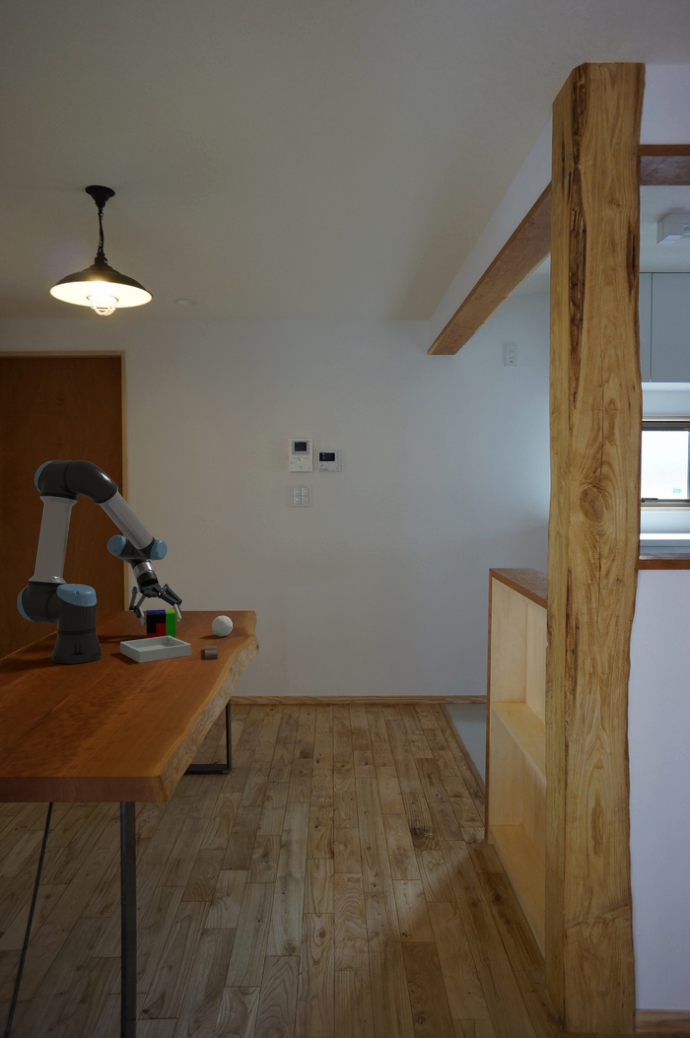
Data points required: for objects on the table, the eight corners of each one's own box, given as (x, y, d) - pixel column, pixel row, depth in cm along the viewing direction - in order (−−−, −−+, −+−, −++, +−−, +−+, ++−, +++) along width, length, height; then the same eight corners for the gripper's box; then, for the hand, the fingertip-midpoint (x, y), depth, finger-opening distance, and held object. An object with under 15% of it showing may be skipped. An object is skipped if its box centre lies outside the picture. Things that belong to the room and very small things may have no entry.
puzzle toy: (146, 636, 248) (146, 610, 248) (174, 635, 251) (174, 608, 251) (146, 642, 239) (146, 614, 238) (175, 640, 242) (175, 613, 242)
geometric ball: (222, 644, 249) (215, 630, 244) (211, 633, 254) (205, 619, 249) (239, 632, 252) (232, 618, 247) (228, 622, 257) (222, 607, 252)
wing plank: (217, 660, 216) (217, 654, 215) (205, 660, 215) (204, 654, 215) (216, 650, 229) (216, 644, 229) (204, 650, 228) (204, 645, 228)
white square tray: (139, 662, 210) (139, 651, 209) (120, 652, 223) (120, 642, 223) (191, 655, 220) (191, 644, 220) (169, 645, 234) (169, 635, 234)
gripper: (173, 580, 266) (190, 624, 255) (111, 585, 251) (126, 632, 240) (179, 568, 262) (196, 612, 251) (116, 573, 246) (131, 619, 235)
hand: (162, 622), depth 245 cm, fingers open, 13 cm apart
